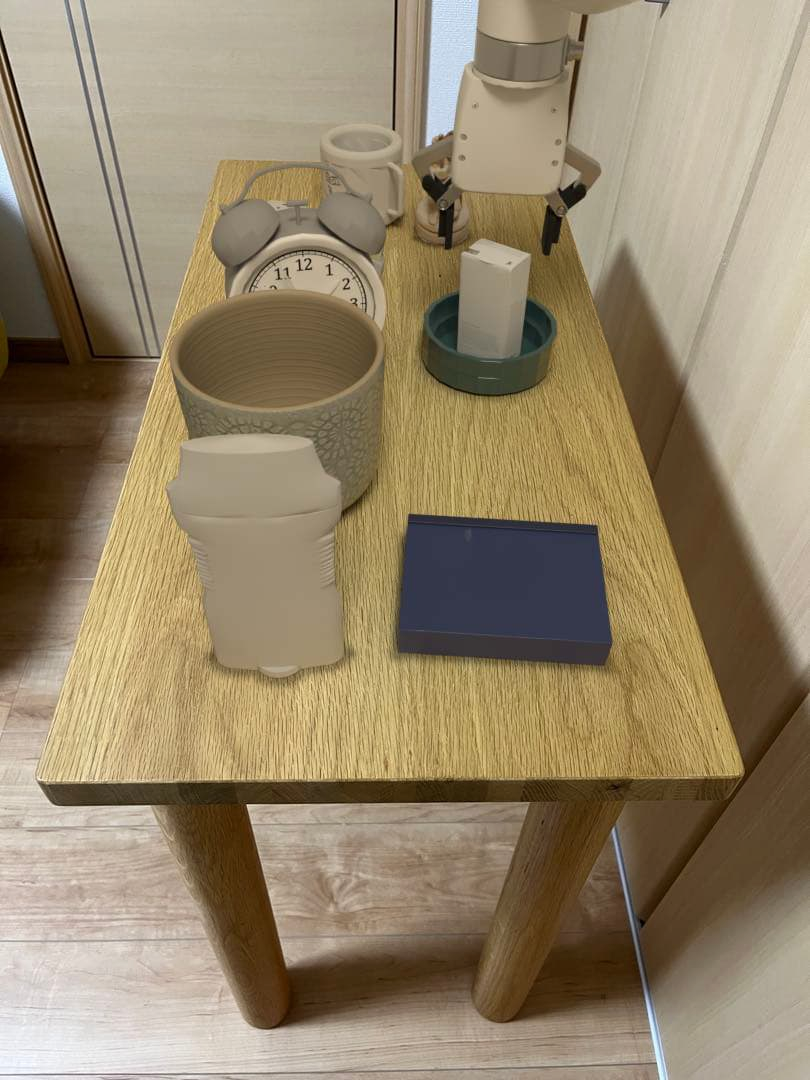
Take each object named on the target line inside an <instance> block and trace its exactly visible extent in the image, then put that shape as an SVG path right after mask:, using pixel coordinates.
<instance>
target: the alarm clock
mask: <svg viewBox="0 0 810 1080" xmlns="http://www.w3.org/2000/svg"><path fill="white" fill-rule="evenodd" d="M293 168H308V169H317V170H318V169H319V170H321V169H323V170H326V171H330V172H332V173H333V174H334V175H335V176H336V177H338V178H339V179H340V180H341V182H342V183H343V185H344V186H345V188H346V189H347V190H348V191H349V192H350V193H348V192H339V193H333V194H330V195H328V196H327V197H325V198H324V199H323V198H322V200H321V202H320V203H319V205H318V207H317V208H315V207H314V208H313V207H309V208H300V206H304V207H308V205H309V200H308V199H307V198H302V199H288V200H286V201H285V202H286V205H287V207H292V208H288V209H283V210H278V211H276V210H275V209H274V208H273V207H272V206H271V205H270V204H268V203H267V202H268V201H265V200H264V199H260V198H247V199H245V198H246V196H247V194H248V192H249V190H250V188H251V186H252V185H253V183H255V181H257V179H258V178H259V177H261V176H263V175H266V174H268V173H273V172H277V171H280V170H286V169H293ZM372 196H373V195H372V193H368V194H366V195H365V196H364V195H362V194H360V193H358V192H357V191H355V190H353V189H352V188H351V187H350V186H349V185H348V184H347V182H346V181H345V179H344V177H343V175H341V174H340V173H339V172H338V171H337V170H336V169H335V168H333V167H331V166H328V165H324V164H321V162H310V161H289V162H282V163H277V164H274V165H270V166H266V167H264V168H261V169H259V170H257V171H255V172H254V173H253V174H252V175H251V176H250V178H249V179H248V180H247V181H246V183H245V185H244V187H243V190H242V192H241V194H240V195H239V196H238V197H237V198H236V199H235V200H233V201H232V202H231V203H230V204H228V205H227V204H224V203H219V205H218V207H219V211H220V212H221V214H220V215H219V216H218V218H217V220H215V221H216V222H215V224H214V226H213V229H212V233H211V239H210V244H211V250H212V252H213V253H214V255H215V256H216V259H217V260H218V261H219V262H220V263H221V264H222V266H224V267H225V269H224V292H225V299H227V298H230V297H233V296H236V295H240V294H244V293H249V292H255V291H262V290H272V289H297V290H307V291H314V292H319V293H324V294H328V295H331V296H335V297H338V298H340V299H343V300H345V301H348V302H350V303H352V304H354V305H355V306H357V307H359V308H360V309H362V310H363V311H364V312H366V313H367V314H368V315H369V316H370V317H371V318H372V319H373V320H374V321H375V322H376V324H377V325H378V327H379V328H380V330H381V332H382V331H383V329H384V327H385V323H386V313H387V308H388V307H387V301H386V293H385V287H384V285H383V283H382V279H381V280H380V278H379V275H378V273H377V271H376V269H375V266H374V264H373V262H372V259H371V257H370V255H369V253H370V254H374V255H376V254H379V253H380V252H381V250H382V248H383V247H384V248H385V245H386V240H387V227H386V226H387V225H386V226H385V223H384V221H383V218H382V217H381V215H380V213H379V212H378V210H377V209H376V208H375V207H374V206H373V205H372V204H371V203H370V202H371V201H372V199H373V198H372ZM382 333H383V332H382Z"/></svg>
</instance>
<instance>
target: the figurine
mask: <svg viewBox="0 0 810 1080" xmlns="http://www.w3.org/2000/svg"><path fill="white" fill-rule="evenodd" d="M453 130H454V129H451V130H450V131H448V132H446V133H445V135H444V134H443V133H439V134H438V135H435V136H434V137H432V138H431V144H433V143H436V142H438V141H440V140H442V139H444V138H446V137H448V136H451V135H453ZM430 166H431V169H432V172H433V173H434V174H435V175H436V176H437V177H438V178H439V179H440V181H441V182H442V183H444V182H445V181H446V180H447V178H448V177H449V176H450V175H451V156H449V157H446V158H444V159H442V160H440V161H438V162H435V163H433V164H432V165H430ZM426 194H427V196H426V197H423V198H422V199H421V200H420V201H419V203H418V205H417V206H416V211H415V223H414V227H415V229H414V230H415V231H416V233H417V236H418V237H419V238H420V240H421V241H423V242H425V243H427V244H431V245H432V244H433V245H435V246H437V245H438V246H439V245H440V246H445V237H438V227H439V211H440V209H439V208H438V207H437V203H436V202H435V201H434V200H433V199H432V198H431V197H430V196H429V195H428V193H427V192H426ZM469 224H470V210H469V207H468V205H467V203H465V201H463V193H462V194H461V195H460V196H459V197H458V198H457V199H456V200H455V207H454V222H453V235H452V246H454V245H457V244H459V243H462V242H463V241H464V240H466V239H467V238H468V233H469Z"/></svg>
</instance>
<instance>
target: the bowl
mask: <svg viewBox="0 0 810 1080" xmlns="http://www.w3.org/2000/svg"><path fill="white" fill-rule="evenodd" d="M459 292H460V289H458V290H455V291H452V292H449V293H446V294H444V295H442V296H440V297H439V298H437V299H436V300H434V301H433V302H431V303H430V304H429V306H428V307H427V309H425V311H424V313H423V322H422V339H421V341H422V343H421V359H422V361H423V363H424V365H425V367H426V369H427V370H428V372H430V373H431V374H432V375H433V376H434V377H435V378H436V379H437V380H439V382H441V383H444V384H446V385H448V386H450V387H451V388H454V389H457V390H461V391H465V392H469V393H472V394H476V395H494V396H497V395H505V394H511V393H512V394H513V393H518V392H521V391H524V390H527V389H528V388H531V387H534V386H536V385H537V384H538V383H540V381H542V380H543V379H544V378H545V377H547V375H548V374H549V372H550V369H551V367H552V364H553V359H554V354H555V349H556V343H557V338H558V333H559V332H558V323H557V320H556V318H555V316H554V315H553V313H552V311H550V309H549V308H548V307H546V306H545V305H543V304H542V303H541V302H540V301H538V300H537V299H535V298H533V297H530V296H529V295H527V298H526V307H525V315H524V324H523V333H522V341H521V351H520V355H519V356H518V357H511V358H504V359H494V358H479V357H475V356H471V355H467V354H463V353H460V352H458V351H457V338H458V314H459Z"/></svg>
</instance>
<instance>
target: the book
mask: <svg viewBox="0 0 810 1080" xmlns="http://www.w3.org/2000/svg"><path fill="white" fill-rule="evenodd" d="M599 533H600V532H599V526H598V524H589V523H572V522H555V521H539V520H538V521H537V520H520V519H504V518H488V517H471V516H455V515H454V516H453V515H436V514H422V513H421V514H419V513H408V514H407V525H406V536H405V537H406V538H405V549H404V561H403V572H402V583H401V596H400V607H399V619H398V620H399V621H398V630H397V631H398V633H397V634H398V635H397V636H398V637H397V653H401V654H415V655H416V654H417V655H432V656H445V657H446V656H449V657H463V658H479V659H491V660H493V659H494V660H510V661H525V662H539V663H555V664H556V663H557V664H569V665H570V664H571V665H573V664H574V665H586V666H587V665H588V666H601V667H602V666H603V667H604V666H605V665H606V663H607V660H608V658H609V654H610V653H611V652H610V651H611V649H612V646H613V637H612V629H611V627H612V626H611V620H610V613H609V605H608V599H607V598H608V597H607V591H606V584H605V576H604V567H603V561H602V553H601V545H600V536H599V535H600V534H599Z"/></svg>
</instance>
